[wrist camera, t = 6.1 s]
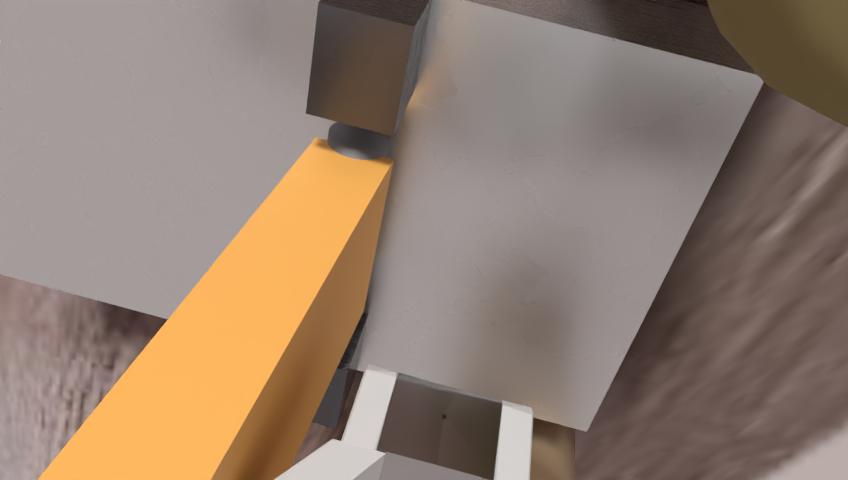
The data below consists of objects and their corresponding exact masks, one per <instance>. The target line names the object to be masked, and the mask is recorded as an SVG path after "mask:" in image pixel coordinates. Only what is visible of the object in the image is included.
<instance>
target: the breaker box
mask: <svg viewBox="0 0 848 480" xmlns="http://www.w3.org/2000/svg"><path fill="white" fill-rule="evenodd" d="M763 83H764V81H763V80H762V79H761V78H760V77H759V76H758V75H757V73H756V72H755V71H754V70H753V69H752V68H751V67H750V66H749V64H748V63H747V62H746V61H745V60H744V59H743V58H742V56H741V55H740V54H739V53H738V52H737V51H736V50H735V49H734V47H733V46H732V45H731V44H730V43H729V42H728V41H727V40H726V38H725V37H724V36H723V35H722V34H721V33H720V31H719V29H718V27H717V25H716V22H715V20H714V18H713V16H712V13H711V11H710V8H709V6H705V5H701V4H697V3H693V2H689V1H685V0H0V274H1V275H5V276H8V277H12V278H16V279H19V280H23V281H27V282H31V283H34V284H38V285H42V286H46V287H49V288H53V289H57V290H60V291H64V292H68V293H72V294H75V295H79V296H83V297H86V298H90V299H94V300H98V301H101V302H105V303H109V304H113V305H116V306H120V307H124V308H127V309H131V310H135V311H139V312H142V313H146V314H150V315H154V316H157V317H161V318H165V319H169V318H170V316H171V315H172V314H173V313H174V311H175V310H176V309H177V308H178V306H179V305H180V304H181V303H182V302H183V300H184V299H185V298H186V297H187V295H188V294H189V293H190V292H191V290H192V289H193V288H194V287H195V286H196V284H197V283H198V282H199V281H200V279H201V278H202V277H203V276H204V274H205V273H206V272H207V271H208V270H209V268H210V267H211V266H212V265H213V263H214V262H215V261H216V260H217V258H218V257H219V256H220V255H221V254H222V252H223V251H224V250H225V249H226V247H227V246H228V245H229V244H230V242H231V241H232V240H233V239H234V238H235V236H236V235H237V234H238V233H239V231H240V230H241V229H242V228H243V226H244V225H245V224H246V223H247V222H248V220H249V219H250V218H251V217H252V215H253V214H254V213H255V212H256V210H257V209H258V208H259V207H260V205H261V204H262V203H263V202H264V201H265V199H266V198H267V197H268V196H269V194H270V193H271V192H272V191H273V189H274V188H275V187H276V186H277V185H278V183H279V182H280V181H281V180H282V178H283V177H284V176H285V175H286V173H287V172H288V171H289V170H290V169H291V167H292V166H293V165H294V164H295V162H296V161H297V160H298V159H299V157H300V156H301V155H302V154H303V153H304V151H305V150H306V149H307V148H308V146H309V145H310V144H311V143H312V141H313V140H314V139H315V138H316V137H318V138H321V139H325V140H327V139H328V132H329V128H330V126H331V125H333V124H334V123H336V122H340V123H344V124H348V125H351V126H355V127H359V128H363V129H367V130H371V131H374V132H378V133H382V134H386V135H388V136H389V145H388V151H387V156H386V158H390V159H393V160H394V161H393V166H392V171H391V176H390V181H389V186H388V191H387V196H386V201H385V206H384V212H383V217H382V222H381V227H380V232H379V237H378V242H377V247H376V252H375V257H374V262H373V267H372V272H371V277H370V282H369V287H368V292H367V297H366V302H365V307H364V311H363V314H362V316H361V318H360V320H359V322H358V324H357V326H356V329H355V331H354V333H353V335H352V337H351V339H350V341H349V343H348V346H347V348H346V350H345V352H344V354H343V356H342V358H341V360H340V363H339V365H338V367H337V369H336V371H335V373H334V375H333V377H332V380H331V382H330V384H329V386H328V388H327V390H326V392H325V394H324V397H323V399H322V401H321V403H320V405H319V407H318V409H317V412H316V414H315V416H314V418H313V420H312V422H314V423H318V424H322V425H325V426H329V427H333V428H337V426H338V423H339V420H340V417H341V414H342V411H343V409H344V406H345V403H346V400H347V397H348V394H349V391H350V388H351V385H352V382H353V380H354V377H355V374H356V371H357V370H358V371H362V372H364V371H365V369H366V368H367V366H368V364H370V365H374V366H377V367H380V368H384V369H387V370H391V371H394V372H397V373H399V372H400V373H403V374H406V375H410V376H413V377H417V378H420V379H423V380H427V381H430V382H434V383H437V384H441V385H445V386H449V387H453V388H457V389H461V390H465V391H469V392H473V393H476V394H480V395H484V396H488V397H492V398H496V399H500V401H502V400H504V401H507V402H511V403H515V404H519V405H523V406H527V407H531V408H532V411H533V418H537V419H541V420H545V421H548V422H552V423H556V424H560V425H563V426H567V427H571V428H574V429H578V430H582V431H586V432H587V430H588V428H589V426H590V424H591V422H592V420H593V418H594V416H595V414H596V413H597V411H598V409H599V407H600V405H601V403H602V401H603V399H604V397H605V395H606V393H607V391H608V389H609V387H610V385H611V383H612V381H613V379H614V377H615V375H616V373H617V371H618V369H619V367H620V365H621V363H622V361H623V359H624V357H625V355H626V353H627V351H628V349H629V347H630V345H631V343H632V341H633V339H634V337H635V336H636V334H637V332H638V330H639V328H640V326H641V324H642V322H643V320H644V318H645V316H646V314H647V312H648V310H649V308H650V306H651V304H652V302H653V300H654V298H655V296H656V294H657V292H658V290H659V288H660V286H661V284H662V282H663V280H664V278H665V276H666V274H667V272H668V270H669V268H670V266H671V264H672V262H673V260H674V259H675V257H676V255H677V253H678V251H679V249H680V247H681V245H682V243H683V241H684V239H685V237H686V235H687V233H688V231H689V229H690V227H691V225H692V223H693V221H694V219H695V217H696V215H697V213H698V211H699V209H700V207H701V205H702V203H703V201H704V199H705V197H706V195H707V193H708V191H709V189H710V187H711V185H712V183H713V181H714V180H715V178H716V176H717V174H718V172H719V170H720V168H721V166H722V164H723V162H724V160H725V158H726V156H727V154H728V152H729V150H730V148H731V146H732V144H733V142H734V140H735V138H736V136H737V134H738V132H739V130H740V128H741V126H742V124H743V122H744V120H745V118H746V116H747V114H748V112H749V110H750V108H751V106H752V104H753V103H754V101H755V99H756V97H757V95H758V93H759V91H760V89H761V87H762V85H763ZM397 377H398V375H397ZM396 380H397V379H396Z"/></svg>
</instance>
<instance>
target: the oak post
mask: <svg viewBox="0 0 848 480" xmlns="http://www.w3.org/2000/svg"><path fill="white" fill-rule="evenodd" d="M530 480H575V429H574V428H571V427H567V426H563V425H560V424H556V423H552V422H548V421H545V420H541V419H537V418H533V430H532V448H531V466H530Z"/></svg>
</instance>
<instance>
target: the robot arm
mask: <svg viewBox="0 0 848 480" xmlns="http://www.w3.org/2000/svg"><path fill="white" fill-rule="evenodd" d="M397 375H398V377H397ZM396 379H397V380H396ZM395 383H396V384H395ZM532 430H533V411H532V408H531V407H527V406H523V405H519V404H515V403H511V402H507V401H504V400H502V401H500V399H496V398H492V397H488V396H484V395H480V394H476V393H473V392H469V391H465V390H461V389H457V388H453V387H449V386H445V385H441V384H437V383H434V382H430V381H427V380H423V379H420V378H417V377H413V376H410V375H406V374H403V373H400V372H399V373H397V372H394V371H391V370H387V369H384V368H380V367H377V366H374V365H370V364H368V366H367V368H366V369H365V371H364V374H363V377H362V380H361V383H360V386H359V389H358V392H357V395H356V398H355V401H354V404H353V407H352V410H351V413H350V416H349V419H348V422H347V425H346V428H345V431H344V434H343V437H342V440H341V441H339V440H335V439H331V440H330V441H328V442H327V443H325V444H324V445H322V446H321V447H320V448H318V449H317V450H315V451H314V452H312V453H311V454H310V455H308V456H307V457H305V458H304V459H302V460H301V461H300V462H298V463H297V464H295V465H294V466H292V467H291V468H289V469H288V470H287V471H285V472H284V473H282V474H281V475H279V476H278V477H277V478H275V479H274V480H530V466H531V448H532Z"/></svg>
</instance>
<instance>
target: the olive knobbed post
mask: <svg viewBox="0 0 848 480" xmlns="http://www.w3.org/2000/svg"><path fill="white" fill-rule="evenodd" d="M707 2H708V5H709V8H710V11H711V13H712V16H713V18H714V20H715V22H716V25H717V27H718V29H719V31H720V33H721V34H722V35H723V36H724V37H725V38H726V40H727V41H728V42H729V43H730V44H731V45H732V46H733V47H734V49H735V50H736V51H737V52H738V53H739V54H740V55H741V56H742V58H743V59H744V60H745V61H746V62H747V63H748V64H749V66H750V67H751V68H752V69H753V70H754V71H755V72H756V73H757V75H758V76H759V77H760V78H761V79H762V80H763V81H764V83H765V84H766V85H767V86H769V87H771V88H773V89H775V90H777V91H779V92H780V93H782V94H784V95H786V96H788V97H790V98H792V99H794V100H796V101H798V102H800V103H802V104H803V105H805V106H807V107H809V108H811V109H813V110H815V111H817V112H819V113H821V114H823V115H825V116H826V117H828V118H830V119H832V120H834V121H836V122H838V123H841V124H843V125H845V126H847V127H848V0H707Z"/></svg>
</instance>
